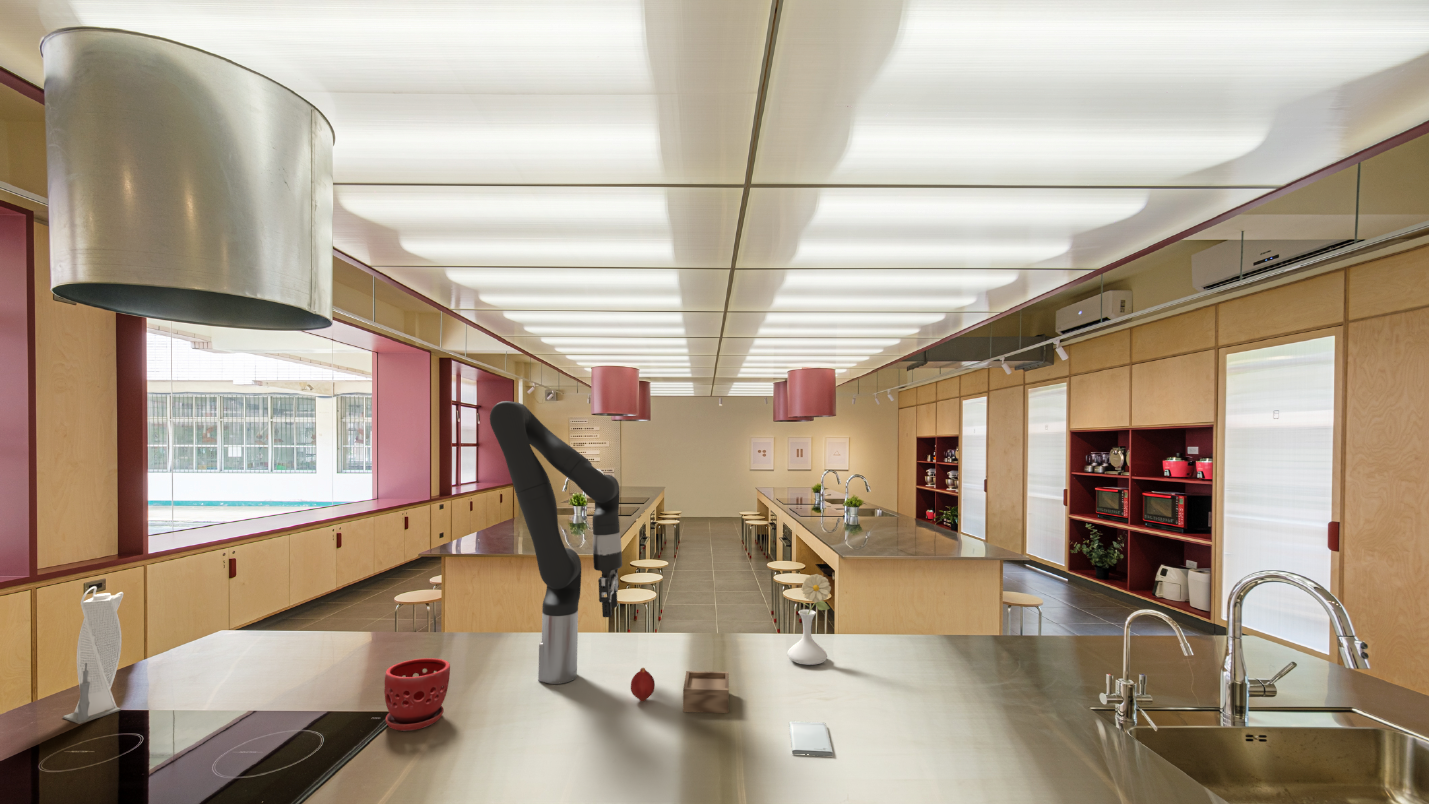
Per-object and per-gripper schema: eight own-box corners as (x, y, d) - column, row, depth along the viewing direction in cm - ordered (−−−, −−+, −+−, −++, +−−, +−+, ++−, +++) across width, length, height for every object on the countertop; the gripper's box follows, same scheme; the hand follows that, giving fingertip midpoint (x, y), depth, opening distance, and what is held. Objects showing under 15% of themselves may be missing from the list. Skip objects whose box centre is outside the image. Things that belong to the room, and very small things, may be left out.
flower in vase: (779, 662, 170) (780, 573, 171) (798, 651, 179) (798, 566, 181) (822, 673, 163) (822, 580, 164) (839, 660, 172) (839, 572, 173)
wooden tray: (682, 712, 140) (683, 689, 140) (686, 692, 150) (686, 671, 150) (728, 712, 139) (728, 689, 140) (728, 693, 150) (728, 671, 150)
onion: (631, 696, 148) (631, 663, 148) (654, 695, 148) (655, 662, 149) (629, 707, 142) (630, 672, 142) (654, 706, 142) (654, 671, 143)
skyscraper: (59, 716, 135) (67, 590, 136) (106, 702, 142) (113, 582, 144) (79, 723, 132) (87, 594, 133) (126, 708, 139) (133, 585, 141)
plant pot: (439, 733, 129) (441, 676, 129) (373, 738, 127) (375, 679, 127) (455, 706, 142) (456, 654, 142) (395, 709, 140) (397, 657, 140)
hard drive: (833, 751, 121) (825, 721, 133) (792, 749, 121) (788, 720, 134) (833, 760, 121) (825, 729, 133) (792, 758, 121) (788, 727, 134)
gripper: (598, 546, 167) (601, 605, 167) (587, 556, 153) (590, 621, 152) (625, 544, 167) (628, 603, 166) (616, 554, 153) (619, 619, 152)
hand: (610, 611), depth 159 cm, fingers open, 8 cm apart
